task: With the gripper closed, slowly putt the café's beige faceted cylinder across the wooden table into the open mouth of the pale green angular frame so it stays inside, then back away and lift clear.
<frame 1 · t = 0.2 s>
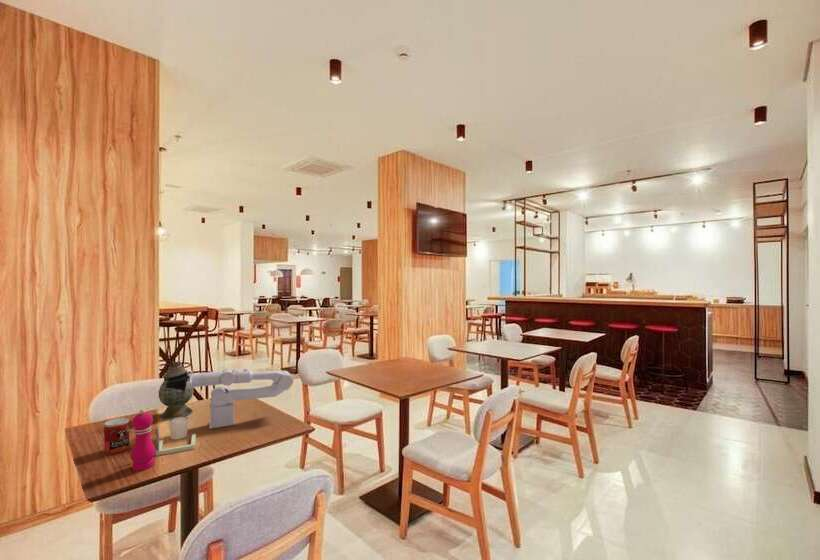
hand: (167, 382, 164), 21 cm above the table, tool horizontal, fingers open, 7 cm apart
canned food: (117, 450, 149), on the table
pepper mill: (143, 467, 136), on the table
pale green angular frame: (176, 445, 152), on the table
beige faceted cylinder: (178, 437, 161), on the table
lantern: (176, 414, 187), on the table
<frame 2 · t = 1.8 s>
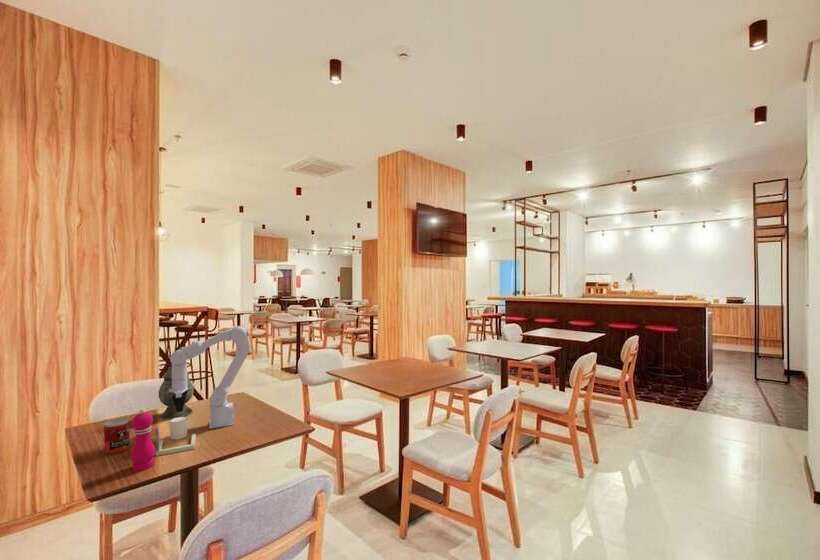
hand: (180, 409, 168), 8 cm above the table, tool pointing down, fingers open, 5 cm apart
nothing on the table moved.
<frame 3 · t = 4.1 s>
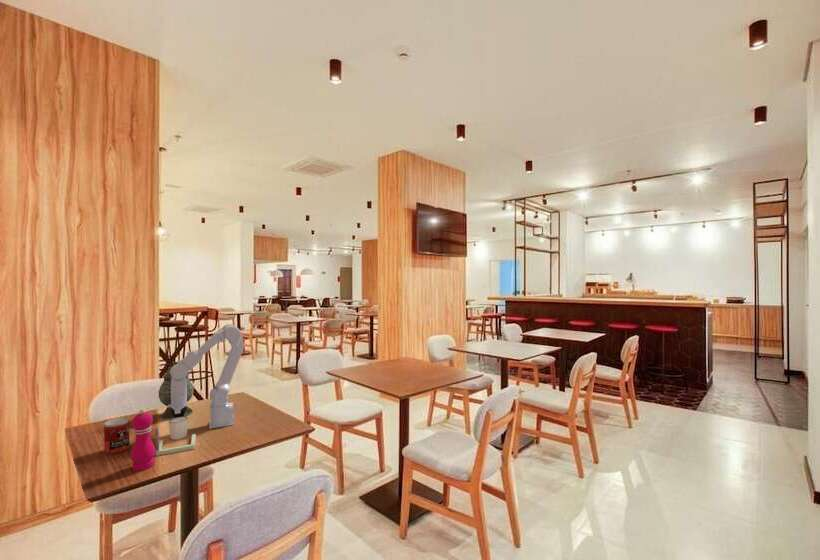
hand: (179, 425, 165), 3 cm above the table, tool pointing down, fingers closed, pressing on beige faceted cylinder
beige faceted cylinder: (178, 436, 161), on the table, touching gripper
everything else where it was.
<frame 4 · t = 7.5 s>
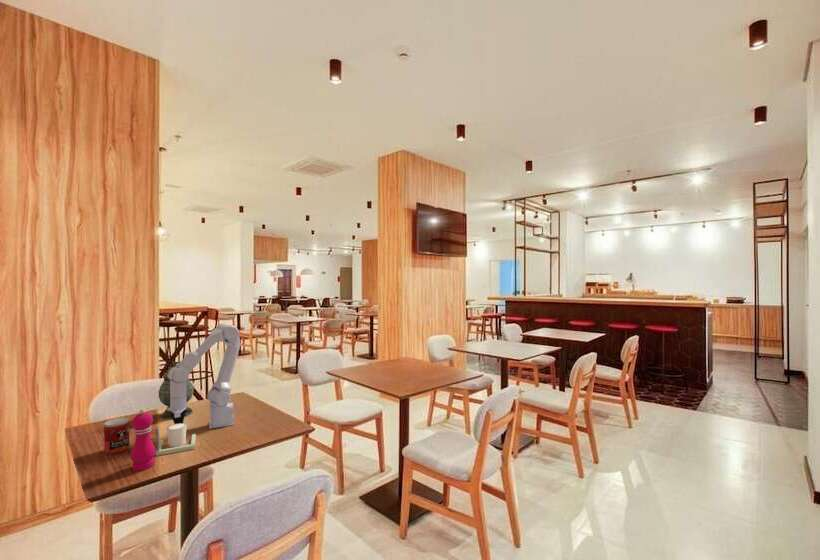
hand: (179, 429, 161), 3 cm above the table, tool pointing down, fingers closed
beige faceted cylinder: (177, 444, 154), on the table
everything else where it was.
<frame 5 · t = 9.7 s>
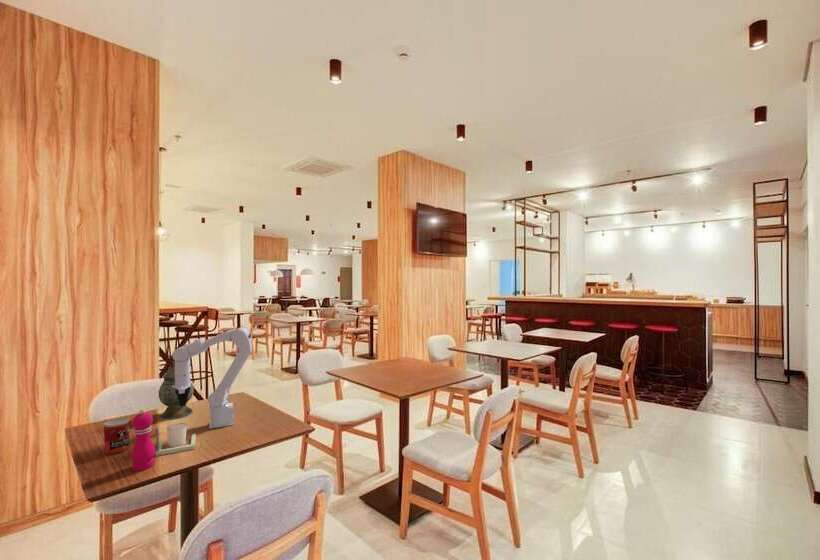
hand: (183, 405, 170), 9 cm above the table, tool pointing down, fingers closed
nothing on the table moved.
at the end: beige faceted cylinder 2.7 cm off-centre on the pale green angular frame, point 0.0 cm above the pale green angular frame's base; beige faceted cylinder tilted 0°; beige faceted cylinder moved 7.8 cm from its start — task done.
